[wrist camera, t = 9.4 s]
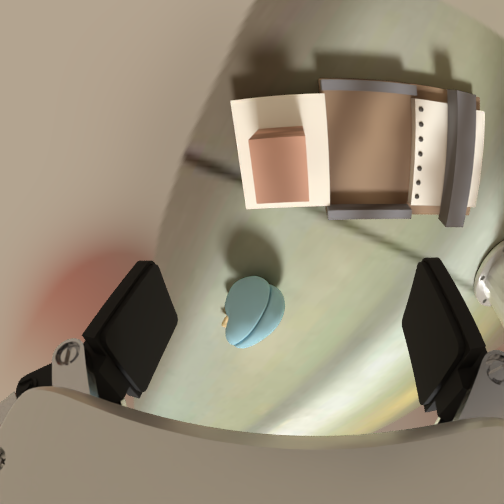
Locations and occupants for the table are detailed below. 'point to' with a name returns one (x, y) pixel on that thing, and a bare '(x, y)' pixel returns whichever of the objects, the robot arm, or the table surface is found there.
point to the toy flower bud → (252, 311)
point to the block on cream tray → (283, 150)
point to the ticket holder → (402, 150)
